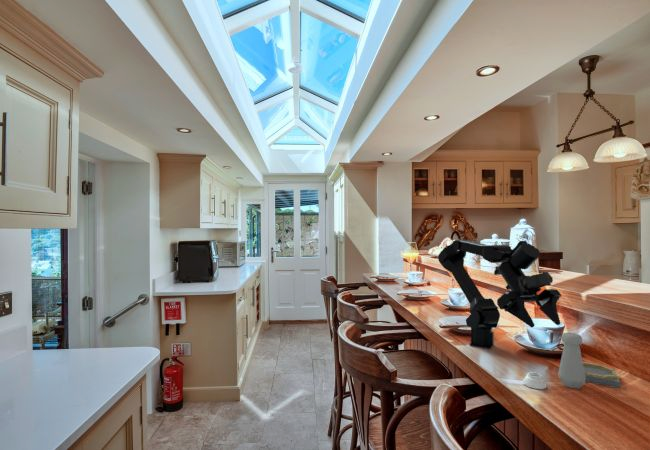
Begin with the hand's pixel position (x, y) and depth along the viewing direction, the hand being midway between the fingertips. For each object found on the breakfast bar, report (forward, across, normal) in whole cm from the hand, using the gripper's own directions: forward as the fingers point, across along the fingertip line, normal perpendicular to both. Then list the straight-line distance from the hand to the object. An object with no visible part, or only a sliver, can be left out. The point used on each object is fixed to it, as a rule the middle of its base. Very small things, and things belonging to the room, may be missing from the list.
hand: (546, 325), depth 98 cm
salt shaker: (+15, -1, +3) cm, 15 cm away
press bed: (+13, +10, +5) cm, 17 cm away
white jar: (+13, -10, +5) cm, 17 cm away
